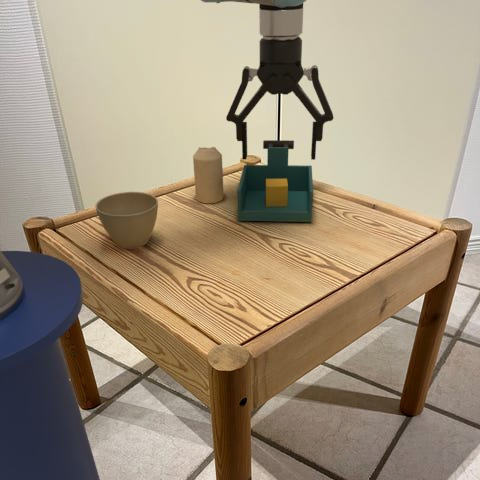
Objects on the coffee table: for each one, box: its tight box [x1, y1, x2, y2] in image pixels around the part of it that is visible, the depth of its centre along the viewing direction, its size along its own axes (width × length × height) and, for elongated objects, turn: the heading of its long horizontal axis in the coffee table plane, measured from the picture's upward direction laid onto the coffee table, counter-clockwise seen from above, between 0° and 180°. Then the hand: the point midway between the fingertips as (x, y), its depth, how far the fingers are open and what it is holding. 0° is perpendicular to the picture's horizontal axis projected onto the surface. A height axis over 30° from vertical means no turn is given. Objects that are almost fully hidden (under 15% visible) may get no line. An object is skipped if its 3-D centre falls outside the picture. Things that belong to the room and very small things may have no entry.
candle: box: [192, 146, 224, 204], centre depth 100 cm, size 6×6×10 cm
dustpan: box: [236, 139, 314, 223], centre depth 97 cm, size 18×13×10 cm
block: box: [266, 179, 288, 207], centre depth 97 cm, size 4×4×4 cm
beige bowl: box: [95, 191, 159, 250], centre depth 85 cm, size 10×10×7 cm
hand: (278, 157), depth 102 cm, fingers open, 13 cm apart
